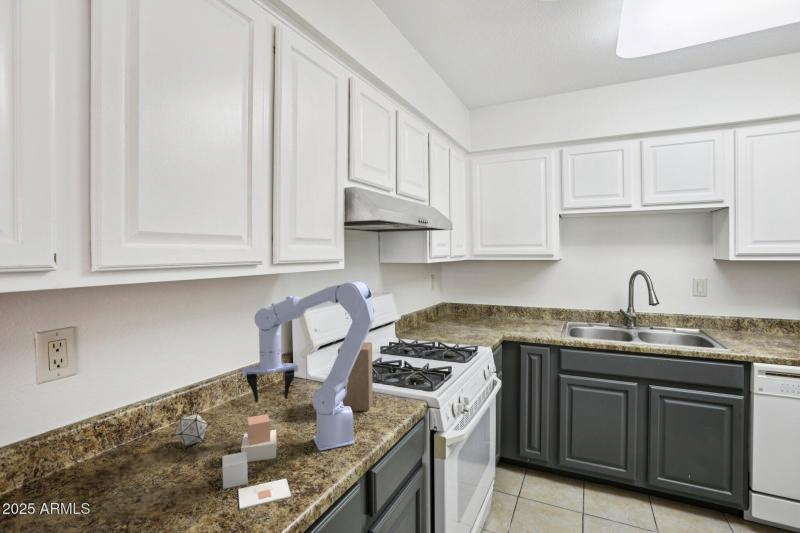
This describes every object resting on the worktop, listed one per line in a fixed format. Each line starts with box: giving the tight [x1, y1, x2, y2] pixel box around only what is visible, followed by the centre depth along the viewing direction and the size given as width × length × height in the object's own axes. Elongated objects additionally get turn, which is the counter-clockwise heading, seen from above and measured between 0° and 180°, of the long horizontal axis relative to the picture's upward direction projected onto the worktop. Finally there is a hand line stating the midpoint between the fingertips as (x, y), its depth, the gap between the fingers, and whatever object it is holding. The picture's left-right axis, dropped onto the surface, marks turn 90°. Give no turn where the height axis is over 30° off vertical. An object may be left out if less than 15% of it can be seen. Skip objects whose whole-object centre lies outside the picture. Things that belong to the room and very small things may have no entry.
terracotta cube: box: [246, 413, 271, 445], centre depth 103 cm, size 5×5×5 cm
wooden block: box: [337, 341, 374, 412], centre depth 134 cm, size 10×10×20 cm
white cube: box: [222, 452, 249, 490], centre depth 91 cm, size 5×5×5 cm
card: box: [238, 478, 292, 510], centre depth 86 cm, size 10×7×1 cm
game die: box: [171, 410, 212, 451], centre depth 108 cm, size 9×8×10 cm
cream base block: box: [240, 429, 277, 463], centre depth 104 cm, size 8×8×4 cm
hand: (271, 399), depth 112 cm, fingers open, 7 cm apart
